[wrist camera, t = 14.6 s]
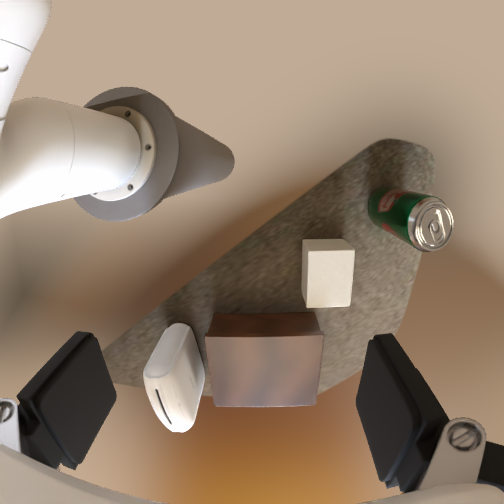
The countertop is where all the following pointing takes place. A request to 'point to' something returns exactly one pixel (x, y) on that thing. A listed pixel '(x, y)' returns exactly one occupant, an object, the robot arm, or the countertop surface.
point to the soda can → (412, 217)
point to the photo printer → (175, 378)
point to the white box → (327, 272)
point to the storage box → (264, 359)
